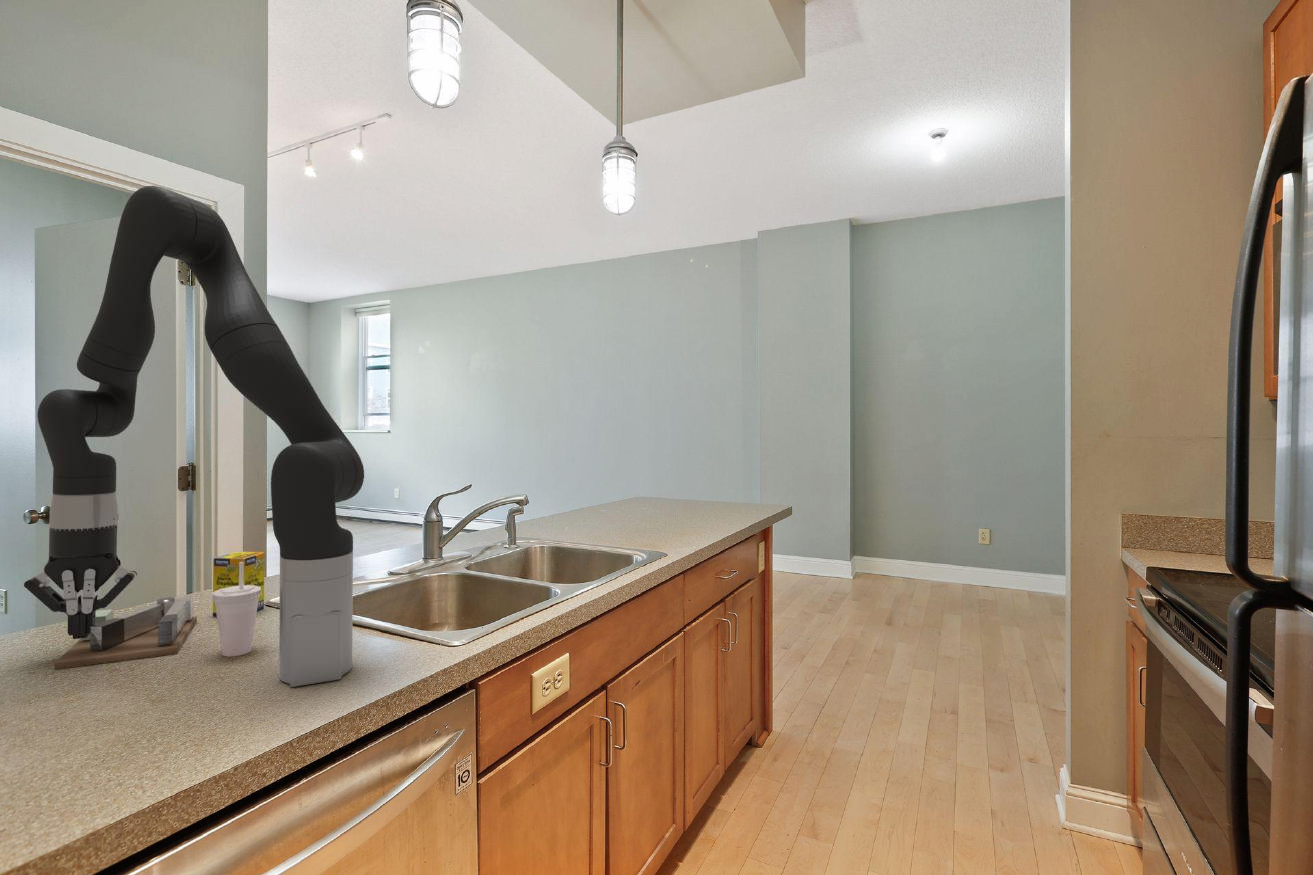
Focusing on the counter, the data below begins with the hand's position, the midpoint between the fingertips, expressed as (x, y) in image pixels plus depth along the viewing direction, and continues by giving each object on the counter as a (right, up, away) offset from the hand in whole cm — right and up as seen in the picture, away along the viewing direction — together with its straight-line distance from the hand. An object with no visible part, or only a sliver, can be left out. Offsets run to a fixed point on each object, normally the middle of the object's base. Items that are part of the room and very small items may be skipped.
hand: (81, 636), depth 93 cm
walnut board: (+3, -3, +6) cm, 7 cm away
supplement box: (+9, -3, +22) cm, 24 cm away
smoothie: (+22, -4, +3) cm, 22 cm away
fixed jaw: (+7, -2, +8) cm, 10 cm away
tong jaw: (+3, -2, +5) cm, 6 cm away
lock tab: (-3, -2, +6) cm, 6 cm away
